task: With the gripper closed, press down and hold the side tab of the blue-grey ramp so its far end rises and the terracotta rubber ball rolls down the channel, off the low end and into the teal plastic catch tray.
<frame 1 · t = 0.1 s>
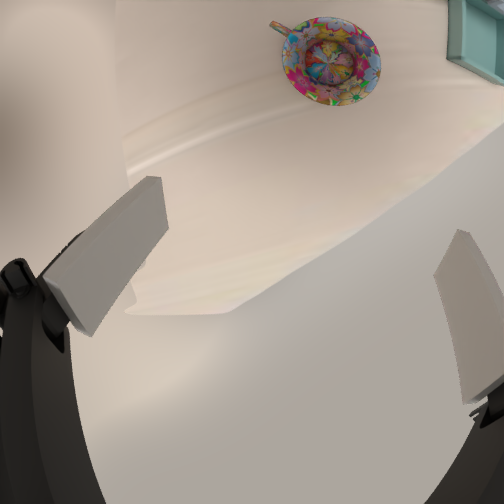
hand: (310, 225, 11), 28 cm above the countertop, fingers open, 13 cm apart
tray: (473, 36, 16), on the countertop
mug: (319, 57, 27), on the countertop
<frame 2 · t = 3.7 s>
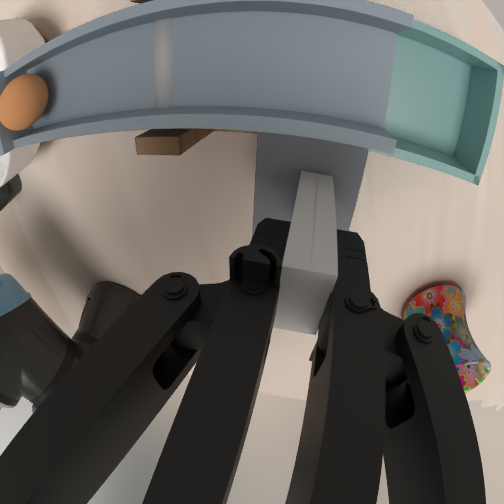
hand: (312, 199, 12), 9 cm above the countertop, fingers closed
tray: (400, 86, 14), on the countertop
fulcrum: (221, 61, 16), on the countertop
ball: (22, 101, 9), point 11 cm above the countertop, tilted 11°
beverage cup: (15, 179, 28), on the countertop
bowl: (29, 87, 18), on the countertop
mug: (423, 310, 27), on the countertop
blue-grey ramp: (139, 133, 11), point 9 cm above the countertop, hinge at 1.6°, touching gripper
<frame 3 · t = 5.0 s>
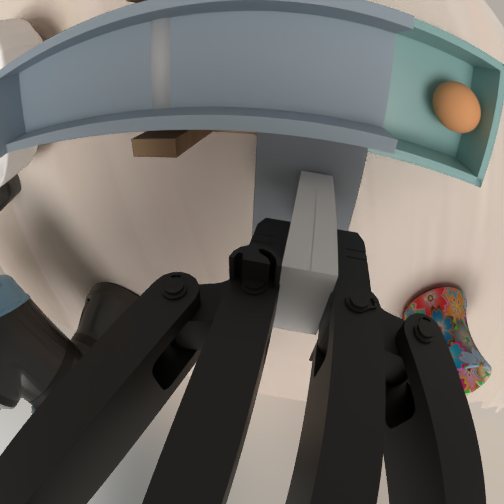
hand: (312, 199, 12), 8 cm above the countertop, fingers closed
tray: (401, 86, 14), on the countertop
fulcrum: (220, 61, 16), on the countertop
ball: (456, 106, 11), point 3 cm above the countertop, tilted 129°, touching tray
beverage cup: (14, 179, 28), on the countertop
bowl: (28, 87, 18), on the countertop
mug: (424, 312, 27), on the countertop
blue-grey ramp: (136, 134, 11), point 9 cm above the countertop, hinge at 4.0°, touching gripper
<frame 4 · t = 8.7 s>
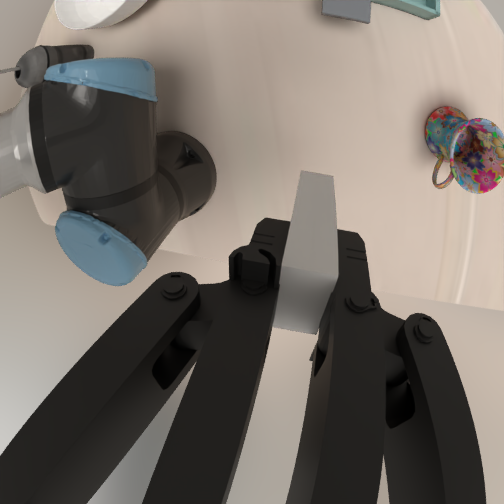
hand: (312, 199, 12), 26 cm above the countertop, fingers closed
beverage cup: (86, 55, 31), on the countertop
mug: (441, 138, 29), on the countertop
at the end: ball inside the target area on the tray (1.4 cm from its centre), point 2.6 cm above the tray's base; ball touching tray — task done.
